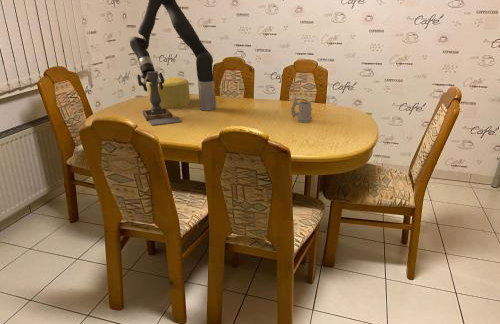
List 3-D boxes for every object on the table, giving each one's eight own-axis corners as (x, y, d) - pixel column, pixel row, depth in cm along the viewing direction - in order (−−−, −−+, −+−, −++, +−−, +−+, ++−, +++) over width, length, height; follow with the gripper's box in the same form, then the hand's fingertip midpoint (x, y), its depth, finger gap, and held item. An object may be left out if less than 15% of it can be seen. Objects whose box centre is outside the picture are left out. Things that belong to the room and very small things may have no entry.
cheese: (159, 98, 259) (157, 76, 254) (195, 99, 254) (193, 77, 249) (142, 107, 236) (139, 83, 230) (181, 109, 231) (179, 84, 225)
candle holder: (160, 117, 213) (155, 73, 203) (149, 117, 214) (144, 72, 204) (164, 115, 218) (160, 71, 209) (154, 114, 219) (149, 71, 210)
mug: (308, 123, 199) (309, 101, 194) (288, 120, 204) (288, 99, 200) (313, 120, 205) (314, 98, 200) (293, 117, 210) (294, 96, 206)
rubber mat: (177, 117, 213) (177, 116, 213) (181, 122, 204) (181, 121, 204) (148, 121, 207) (148, 119, 207) (151, 125, 199) (151, 124, 198)
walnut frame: (167, 112, 225) (166, 107, 224) (172, 117, 213) (171, 113, 212) (143, 114, 220) (142, 110, 219) (146, 120, 208) (146, 116, 207)
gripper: (134, 63, 209) (142, 87, 204) (159, 61, 216) (167, 84, 211) (133, 71, 216) (140, 95, 211) (158, 69, 222) (165, 92, 217)
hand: (154, 89), depth 211 cm, fingers open, 8 cm apart
